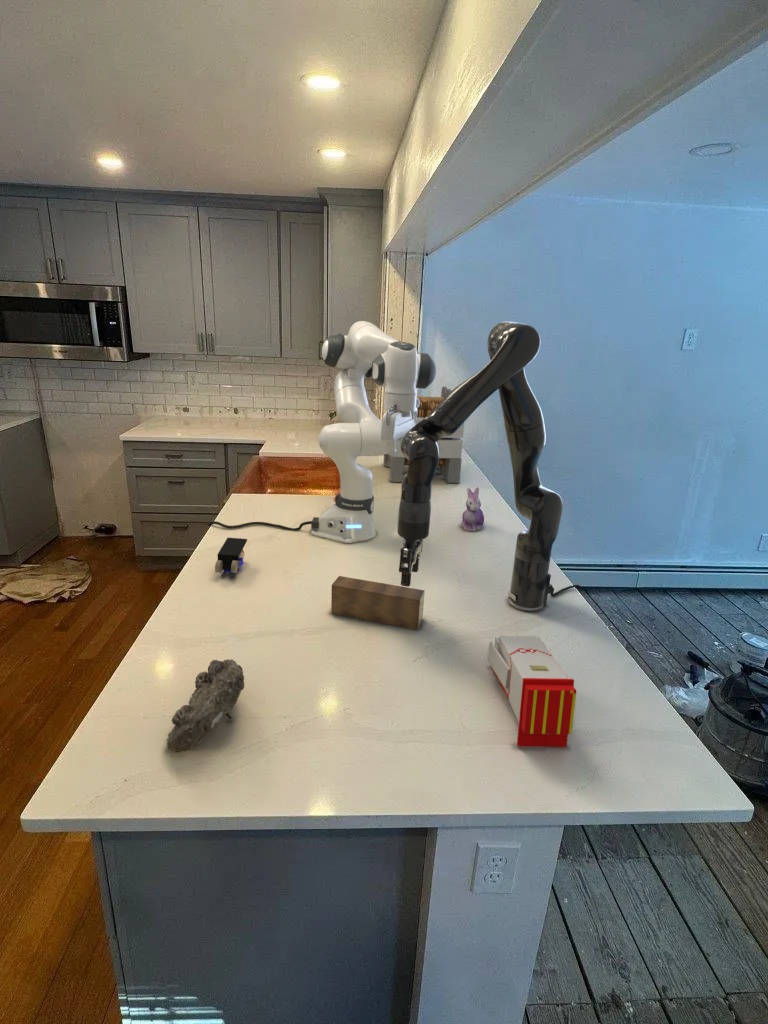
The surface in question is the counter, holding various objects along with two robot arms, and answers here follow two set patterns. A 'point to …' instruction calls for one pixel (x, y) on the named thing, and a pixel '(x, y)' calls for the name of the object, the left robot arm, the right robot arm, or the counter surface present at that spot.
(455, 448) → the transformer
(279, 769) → the counter surface
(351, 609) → the bar
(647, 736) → the counter surface
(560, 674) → the toy
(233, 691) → the fossil
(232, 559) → the figurine character
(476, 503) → the figurine
